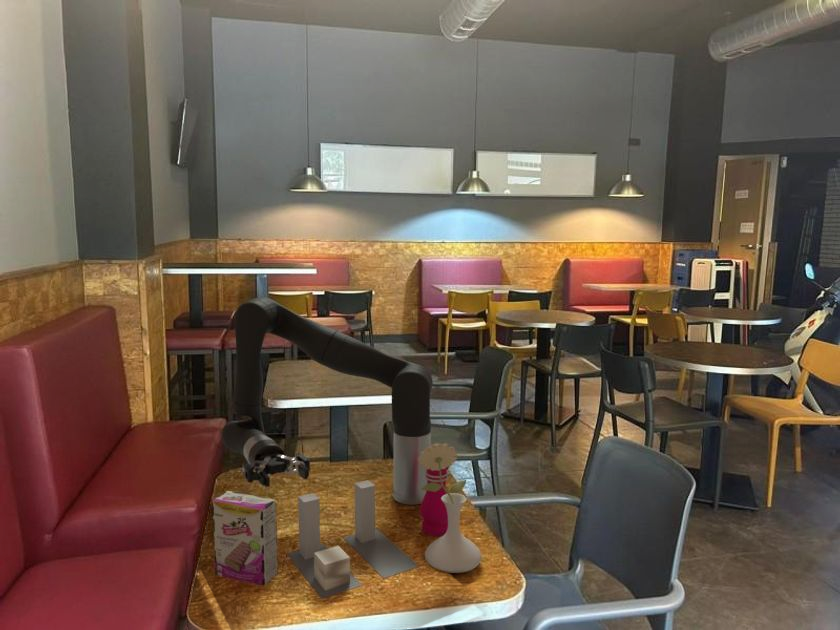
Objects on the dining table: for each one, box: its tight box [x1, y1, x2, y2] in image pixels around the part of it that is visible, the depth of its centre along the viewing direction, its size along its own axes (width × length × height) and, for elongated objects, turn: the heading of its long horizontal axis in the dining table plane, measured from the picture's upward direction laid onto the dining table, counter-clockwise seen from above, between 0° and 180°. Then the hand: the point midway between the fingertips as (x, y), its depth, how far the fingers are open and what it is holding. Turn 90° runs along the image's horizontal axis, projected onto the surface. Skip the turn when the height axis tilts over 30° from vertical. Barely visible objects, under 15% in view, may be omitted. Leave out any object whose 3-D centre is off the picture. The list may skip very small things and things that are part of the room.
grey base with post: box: [342, 479, 420, 579], centre depth 125 cm, size 8×18×13 cm, turn 32°
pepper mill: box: [419, 443, 450, 537], centre depth 137 cm, size 7×7×20 cm
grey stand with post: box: [286, 492, 363, 600], centre depth 119 cm, size 8×18×13 cm, turn 32°
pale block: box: [314, 545, 351, 591], centre depth 115 cm, size 5×5×5 cm
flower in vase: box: [418, 442, 482, 574], centre depth 123 cm, size 13×11×25 cm
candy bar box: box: [212, 490, 279, 586], centre depth 117 cm, size 11×5×16 cm, turn 71°
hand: (287, 478), depth 133 cm, fingers open, 8 cm apart
